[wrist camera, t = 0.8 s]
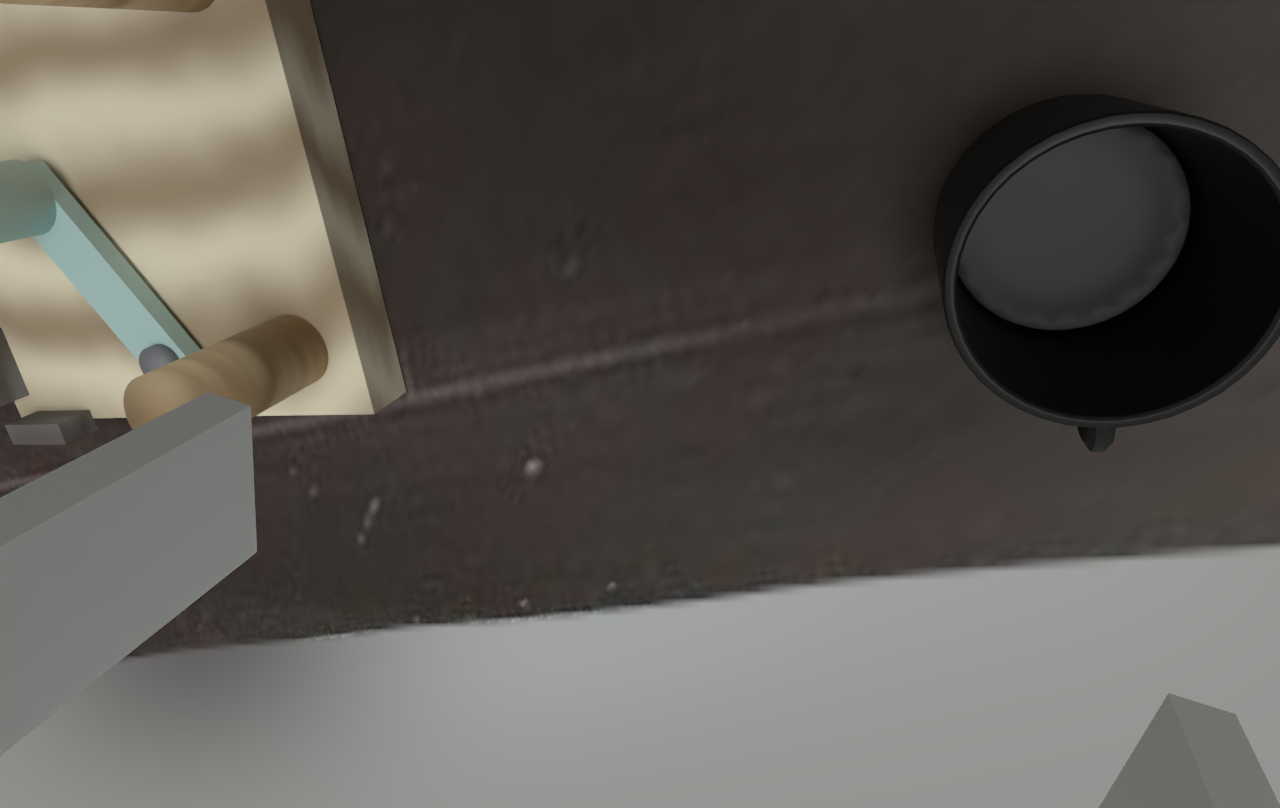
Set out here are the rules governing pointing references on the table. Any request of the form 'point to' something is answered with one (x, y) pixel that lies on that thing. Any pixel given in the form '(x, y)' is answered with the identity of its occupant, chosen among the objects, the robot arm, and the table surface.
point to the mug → (1110, 261)
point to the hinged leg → (88, 262)
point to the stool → (188, 213)
